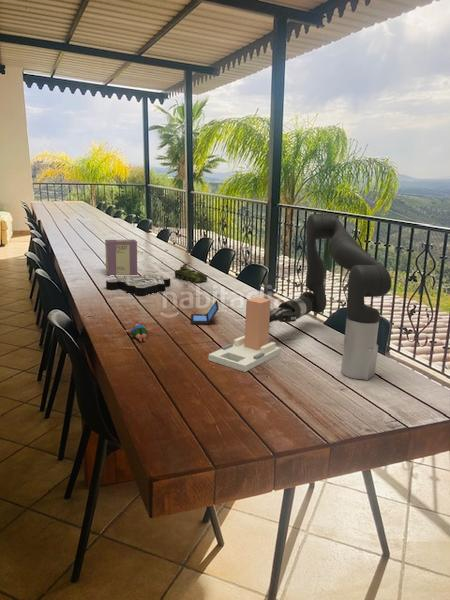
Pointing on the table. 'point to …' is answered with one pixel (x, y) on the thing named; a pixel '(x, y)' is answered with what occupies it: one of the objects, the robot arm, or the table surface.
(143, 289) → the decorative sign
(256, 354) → the white stand base
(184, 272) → the toy vehicle
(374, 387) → the table surface
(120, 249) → the box
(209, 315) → the object
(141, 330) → the toy character
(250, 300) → the block
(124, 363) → the table surface
